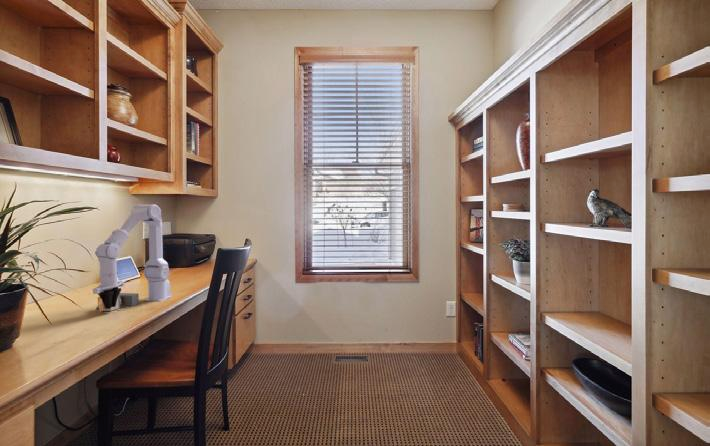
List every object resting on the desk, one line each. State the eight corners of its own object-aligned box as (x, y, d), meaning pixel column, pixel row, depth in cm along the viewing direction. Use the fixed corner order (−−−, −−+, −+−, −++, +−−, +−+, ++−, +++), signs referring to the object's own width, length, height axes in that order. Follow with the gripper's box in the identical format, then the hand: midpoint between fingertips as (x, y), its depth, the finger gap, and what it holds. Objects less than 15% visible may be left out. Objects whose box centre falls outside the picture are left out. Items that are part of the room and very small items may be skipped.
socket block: (116, 303, 173) (115, 292, 173) (138, 304, 172) (138, 293, 171) (96, 309, 162) (96, 298, 162) (120, 310, 161) (120, 299, 160)
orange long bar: (97, 305, 163) (97, 296, 163) (101, 305, 164) (101, 296, 164) (99, 312, 153) (99, 302, 153) (103, 311, 154) (103, 302, 154)
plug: (114, 306, 167) (113, 294, 167) (123, 306, 166) (123, 294, 166) (101, 310, 160) (101, 297, 160) (111, 310, 159) (111, 298, 159)
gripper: (112, 270, 164) (114, 302, 165) (84, 277, 150) (86, 312, 151) (128, 270, 164) (129, 303, 164) (101, 277, 149) (103, 312, 150)
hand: (110, 307), depth 158 cm, fingers closed
